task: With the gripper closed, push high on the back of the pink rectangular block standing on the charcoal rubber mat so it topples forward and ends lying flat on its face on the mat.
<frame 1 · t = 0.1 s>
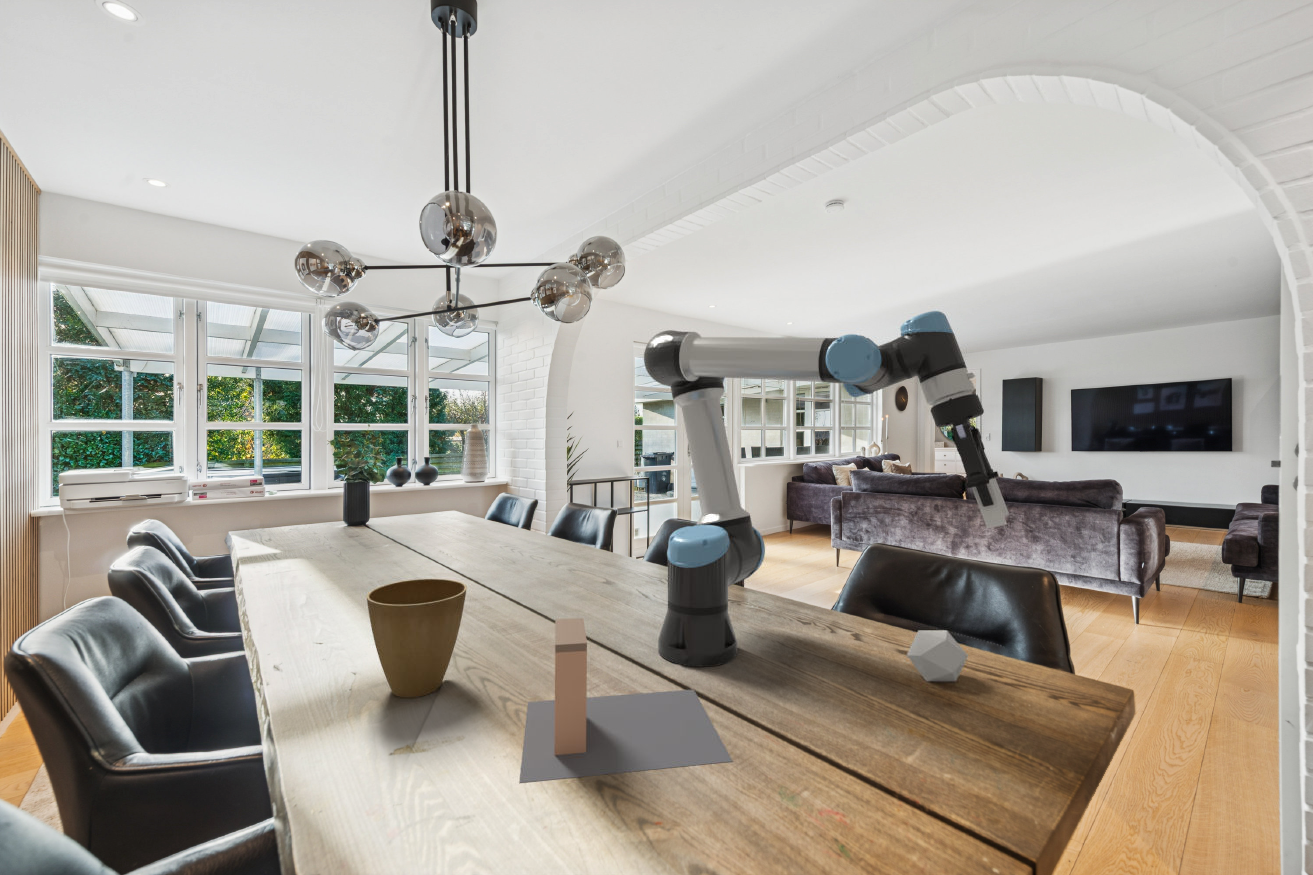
hand: (998, 521, 90), 28 cm above the table, tool tilted 20°, fingers open, 13 cm apart
mat: (620, 732, 76), on the table
pink rectangular block: (569, 732, 75), point 1 cm above the table, touching mat
die: (936, 678, 95), on the table
plant pot: (417, 689, 90), on the table
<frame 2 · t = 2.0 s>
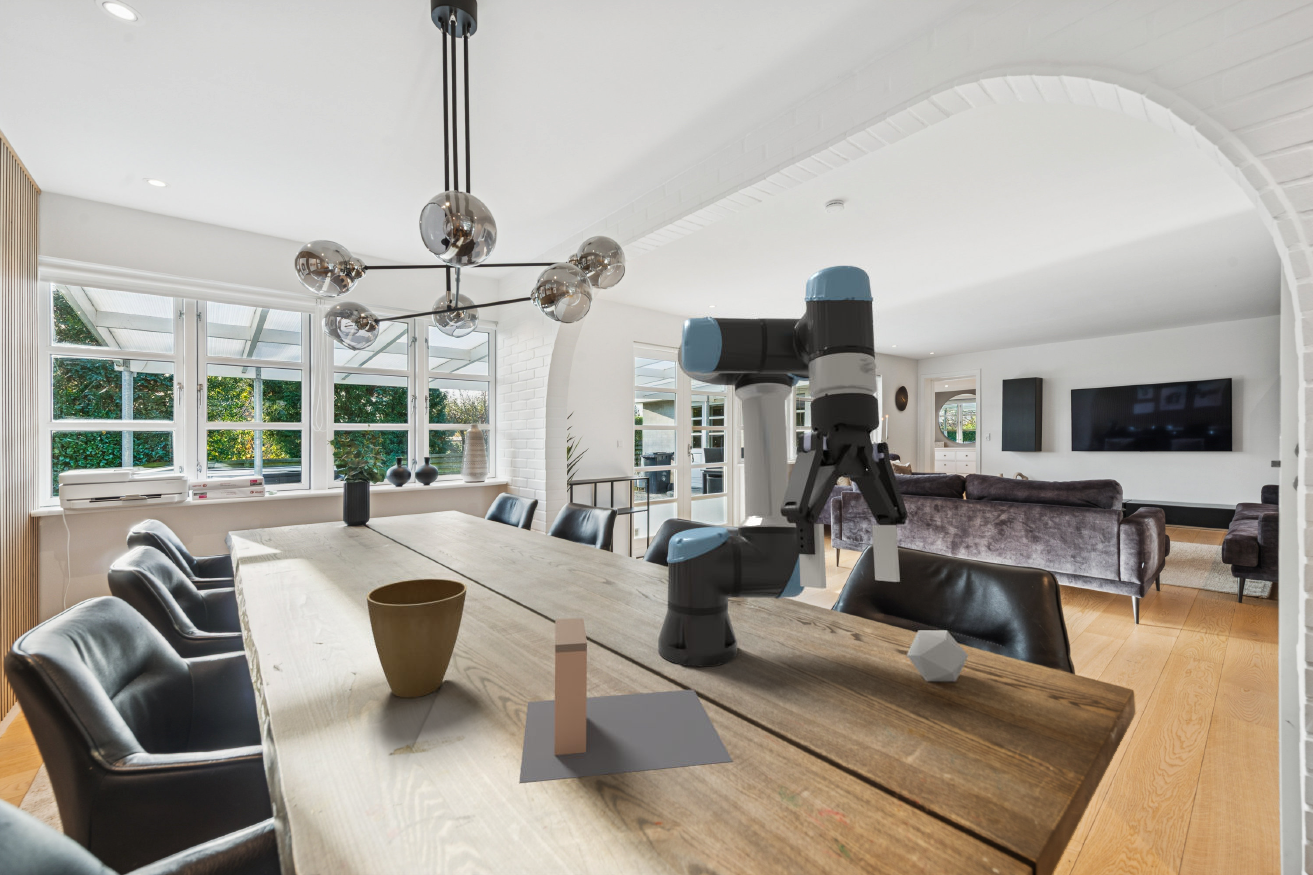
hand: (852, 584, 61), 25 cm above the table, tool pointing down, fingers open, 13 cm apart
nothing on the table moved.
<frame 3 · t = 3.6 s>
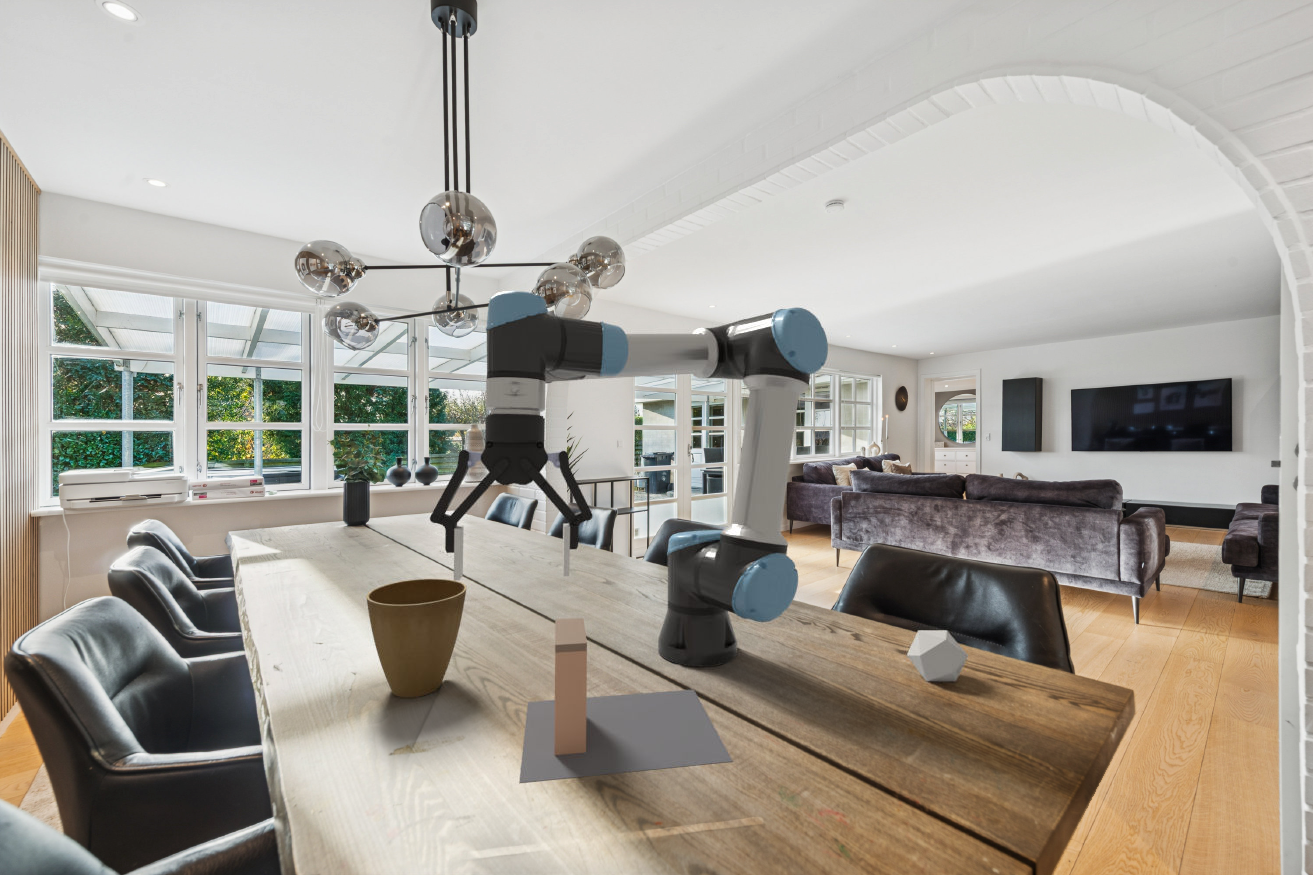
hand: (513, 576, 72), 23 cm above the table, tool pointing down, fingers open, 13 cm apart
nothing on the table moved.
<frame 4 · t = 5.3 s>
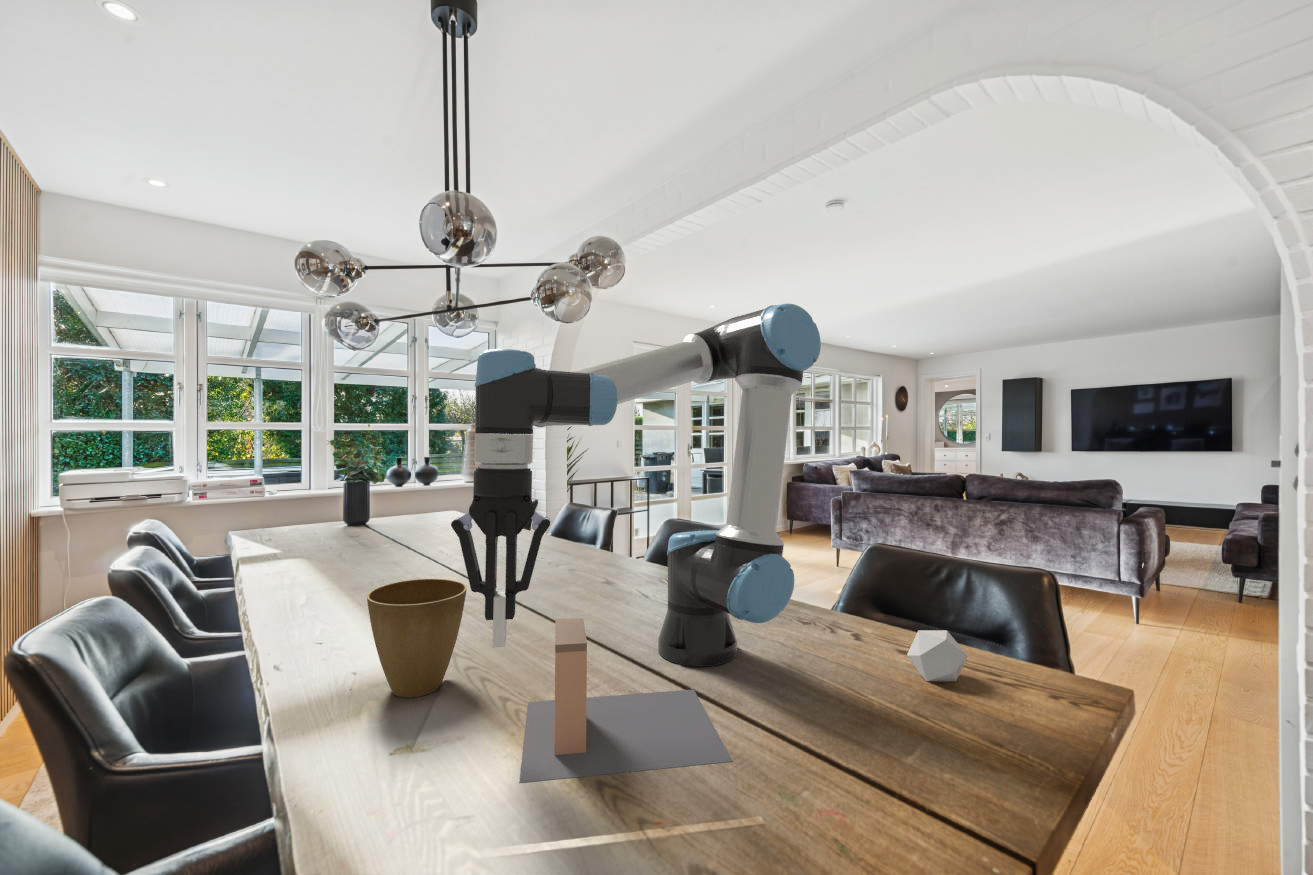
hand: (499, 643, 73), 13 cm above the table, tool pointing down, fingers closed
nothing on the table moved.
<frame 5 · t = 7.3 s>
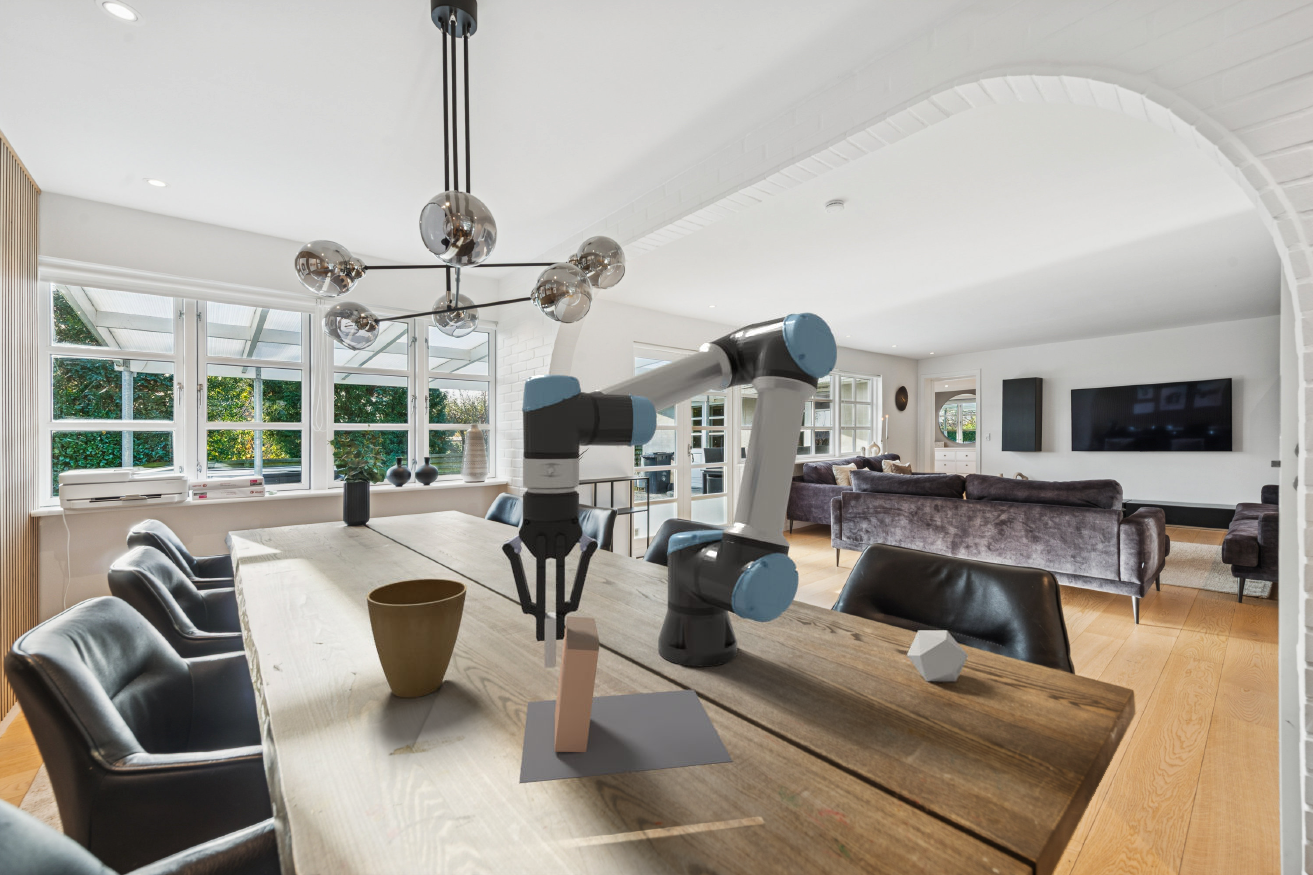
hand: (550, 663, 75), 10 cm above the table, tool pointing down, fingers closed
pink rectangular block: (569, 731, 75), point 1 cm above the table, tilted 7°, touching mat
everything else where it was.
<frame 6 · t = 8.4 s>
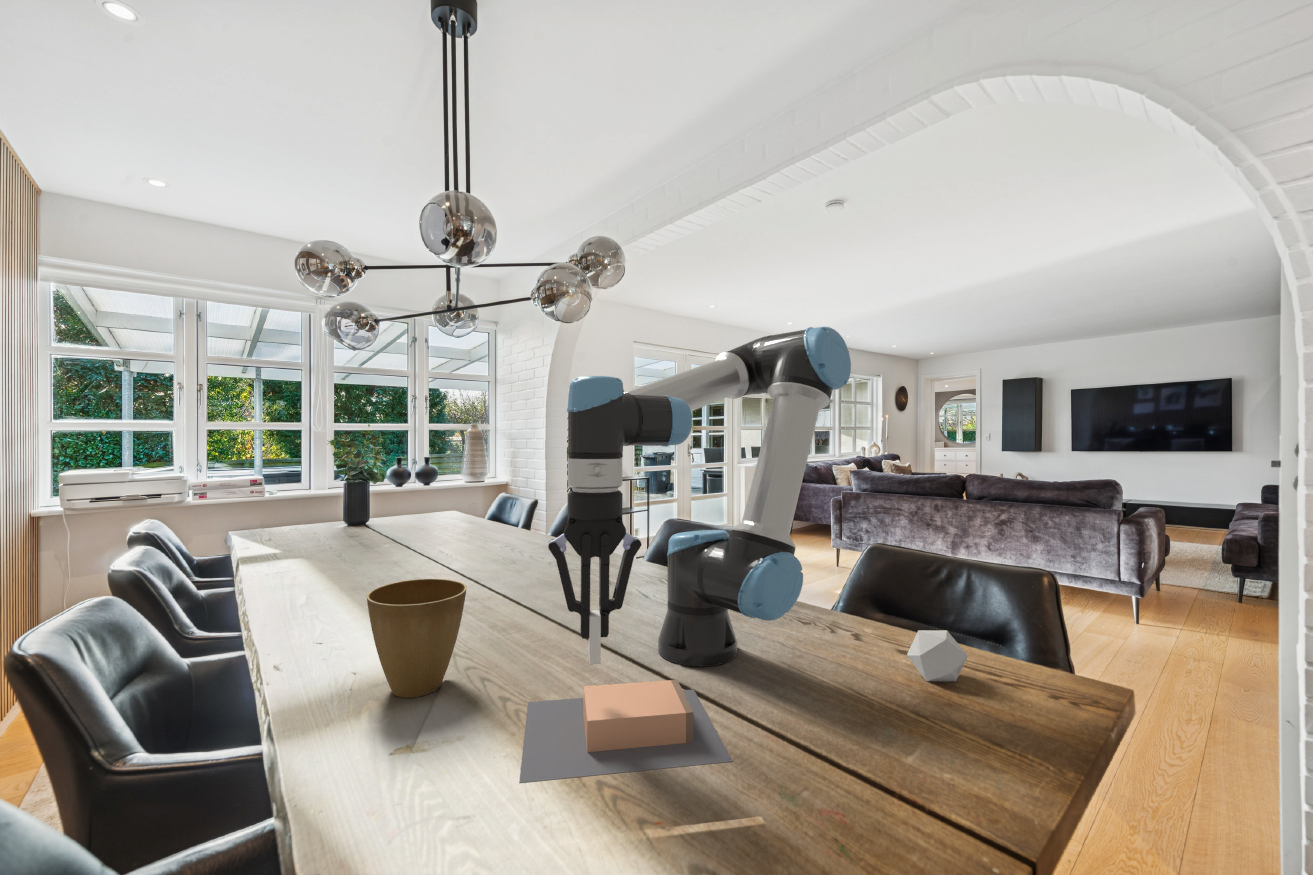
hand: (594, 660, 76), 10 cm above the table, tool pointing down, fingers closed
pink rectangular block: (585, 716, 76), point 3 cm above the table, tilted 90°, touching mat
everything else where it was.
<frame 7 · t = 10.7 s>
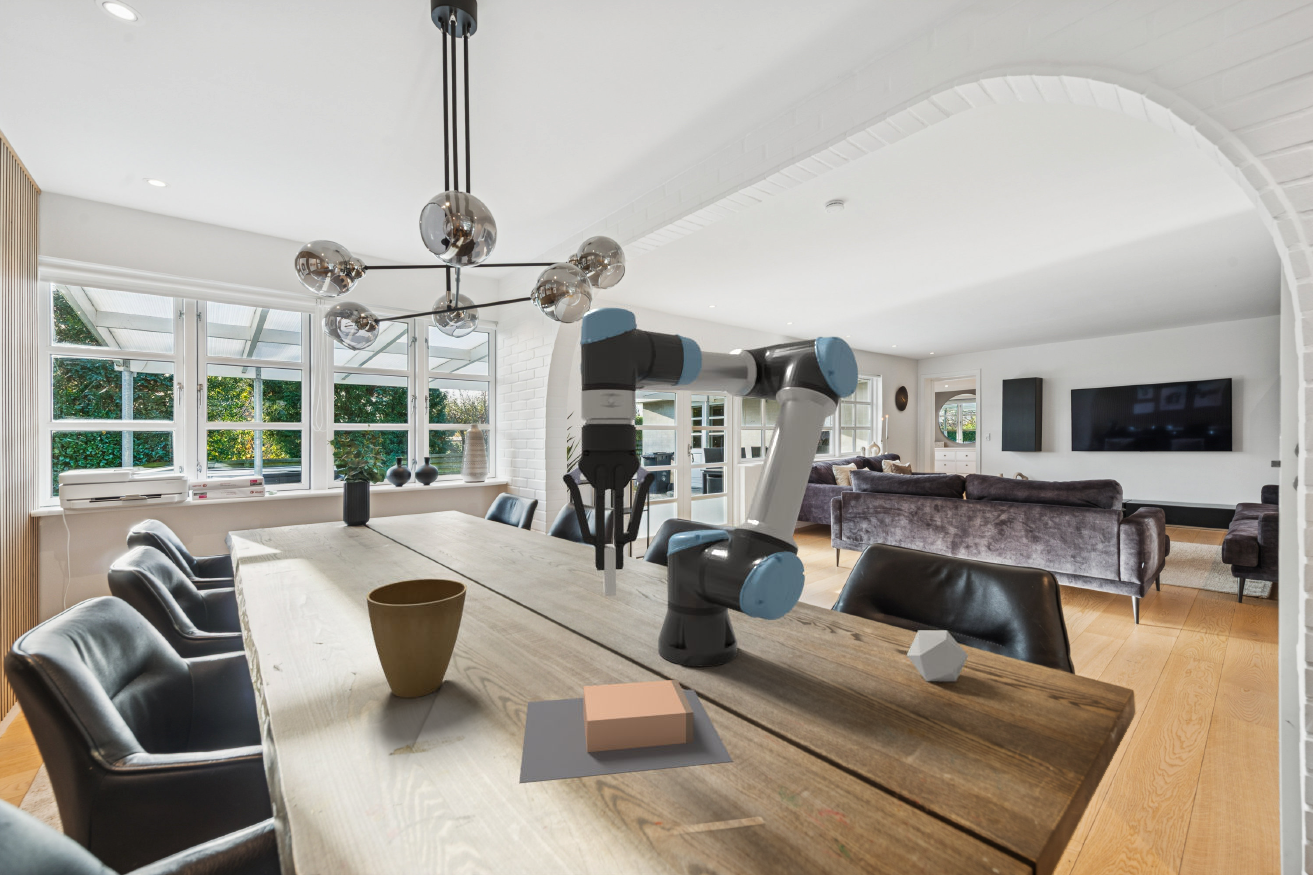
hand: (609, 592, 76), 19 cm above the table, tool pointing down, fingers closed
nothing on the table moved.
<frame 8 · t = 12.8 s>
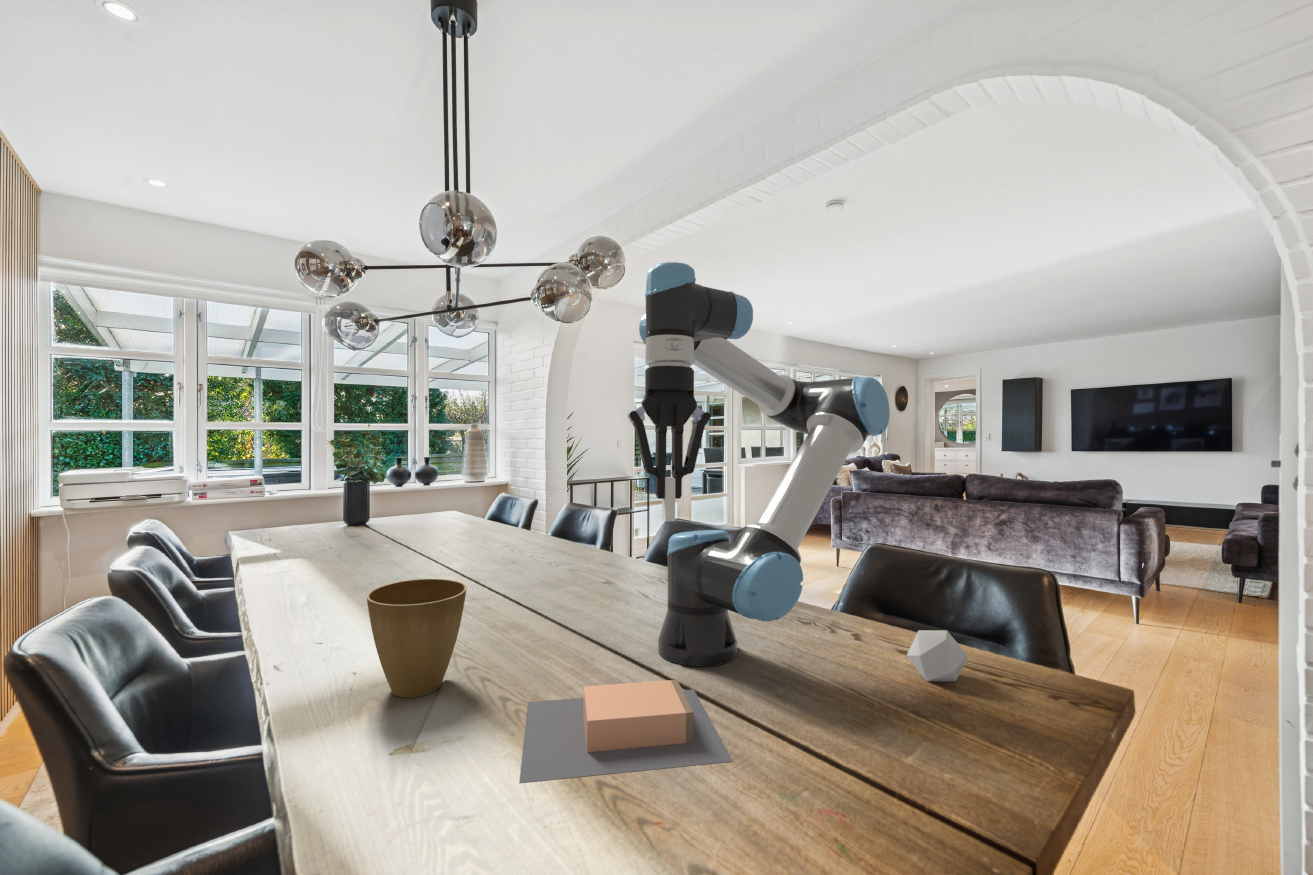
hand: (668, 519, 85), 28 cm above the table, tool pointing down, fingers closed
nothing on the table moved.
at the end: pink rectangular block tilted 90°; pink rectangular block touching mat; pink rectangular block inside the target area (4.9 cm from its centre), point 2.6 cm above the table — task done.
